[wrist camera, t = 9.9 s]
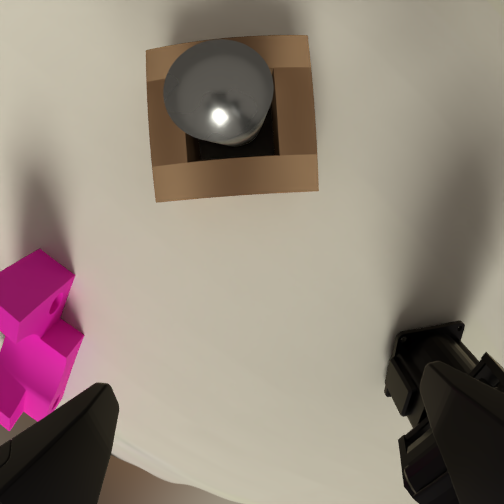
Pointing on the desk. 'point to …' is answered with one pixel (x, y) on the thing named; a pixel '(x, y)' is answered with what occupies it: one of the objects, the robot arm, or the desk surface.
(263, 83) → the metal canister
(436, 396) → the robot arm
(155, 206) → the desk surface
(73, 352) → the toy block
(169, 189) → the brown square frame
